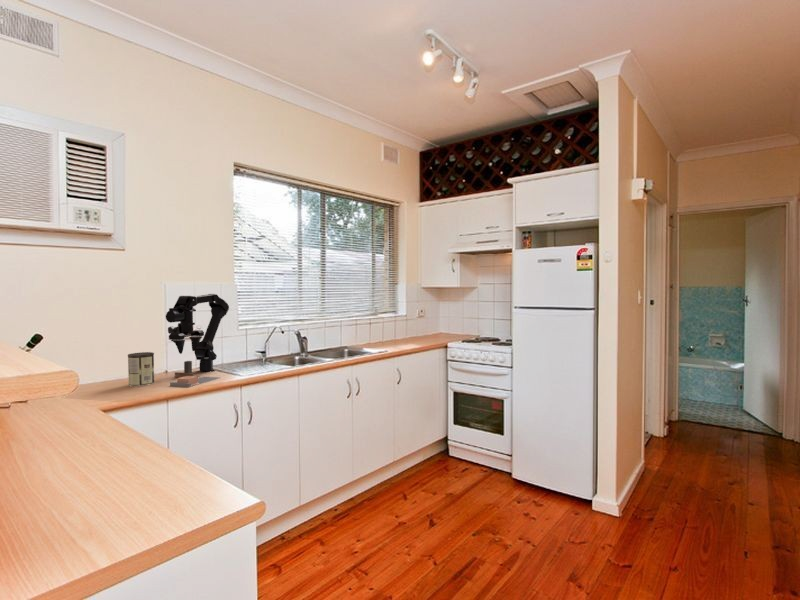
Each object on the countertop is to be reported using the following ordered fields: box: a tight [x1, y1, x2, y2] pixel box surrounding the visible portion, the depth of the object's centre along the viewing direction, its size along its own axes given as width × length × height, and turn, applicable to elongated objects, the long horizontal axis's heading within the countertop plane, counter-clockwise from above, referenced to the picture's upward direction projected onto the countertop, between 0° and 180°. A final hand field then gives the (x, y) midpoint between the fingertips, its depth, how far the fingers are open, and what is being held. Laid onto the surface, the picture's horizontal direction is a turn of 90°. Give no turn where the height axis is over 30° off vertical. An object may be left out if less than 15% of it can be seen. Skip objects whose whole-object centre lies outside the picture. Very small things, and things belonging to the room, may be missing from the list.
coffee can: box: [127, 351, 155, 388], centre depth 203 cm, size 10×10×14 cm
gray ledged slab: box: [169, 376, 220, 388], centre depth 207 cm, size 22×10×2 cm, turn 165°
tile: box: [176, 376, 199, 385], centre depth 202 cm, size 6×6×3 cm
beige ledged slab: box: [174, 360, 201, 378], centre depth 220 cm, size 6×10×8 cm, turn 75°
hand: (187, 352), depth 223 cm, fingers open, 9 cm apart
